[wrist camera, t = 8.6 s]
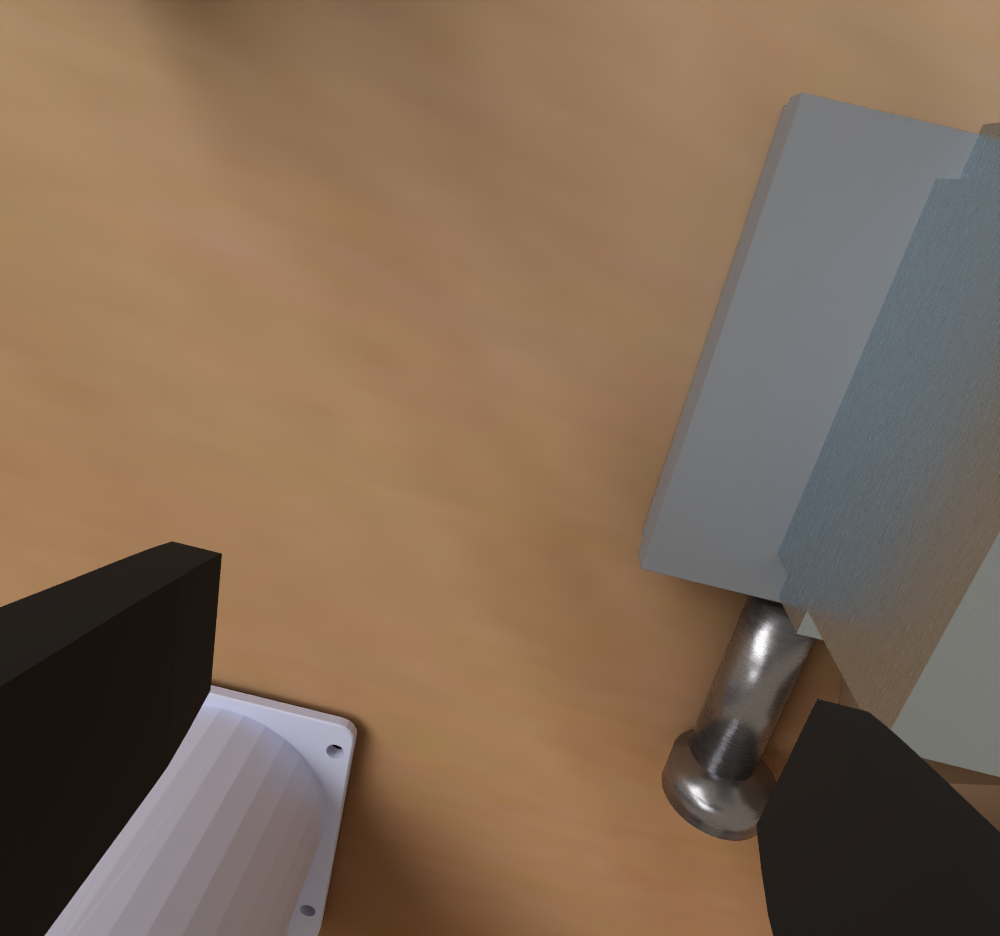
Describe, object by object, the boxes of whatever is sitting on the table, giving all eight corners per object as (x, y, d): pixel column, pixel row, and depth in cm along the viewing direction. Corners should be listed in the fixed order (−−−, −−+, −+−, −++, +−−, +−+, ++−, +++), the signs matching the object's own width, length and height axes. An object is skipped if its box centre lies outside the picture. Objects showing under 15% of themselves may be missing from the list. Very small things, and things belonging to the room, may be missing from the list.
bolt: (752, 770, 21) (774, 853, 18) (657, 745, 21) (666, 823, 19) (833, 597, 19) (871, 663, 16) (726, 569, 19) (747, 630, 16)
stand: (1017, 622, 19) (1066, 672, 17) (634, 529, 19) (641, 568, 17) (1255, 218, 15) (1353, 222, 13) (774, 103, 15) (803, 92, 13)
